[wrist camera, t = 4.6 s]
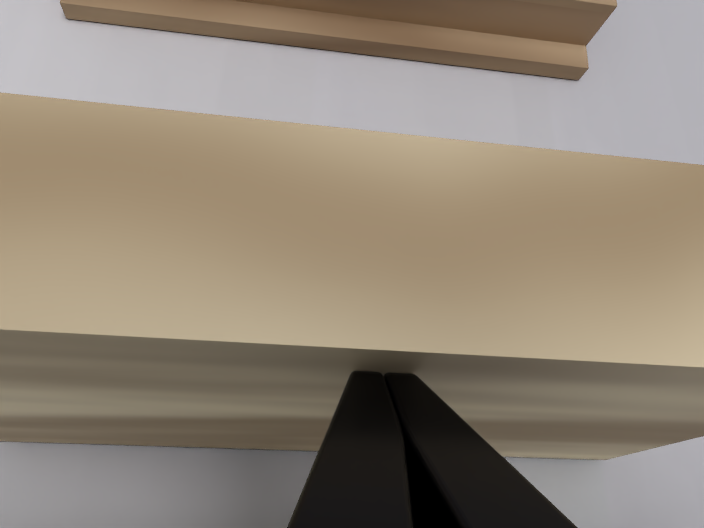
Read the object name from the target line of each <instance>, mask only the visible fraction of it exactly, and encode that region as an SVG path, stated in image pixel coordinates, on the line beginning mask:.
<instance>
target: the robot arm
mask: <svg viewBox="0 0 704 528" xmlns="http://www.w3.org/2000/svg"><path fill="white" fill-rule="evenodd" d="M287 528H577V527H576V526H575V525H574V524H573V523H572V522H571V521H570V520H569V519H568V518H567V517H566V516H565V515H564V514H563V513H562V512H560V511H559V510H558V509H557V508H556V507H555V506H554V505H553V504H552V503H551V502H550V501H549V500H548V499H547V498H546V497H545V496H544V495H542V494H541V493H540V492H539V491H538V490H537V489H536V488H535V487H534V486H533V485H532V484H531V483H530V482H529V481H528V480H527V479H526V478H525V477H523V476H522V475H521V474H520V473H519V472H518V471H517V470H516V469H515V468H514V467H513V466H512V465H511V464H510V463H509V462H508V461H507V460H506V459H504V458H503V457H502V456H501V455H500V454H499V453H498V452H497V451H496V450H495V449H494V448H493V447H492V446H491V445H490V444H489V443H488V442H487V441H485V440H484V439H483V438H482V437H481V436H480V435H479V434H478V433H477V432H476V431H475V430H474V429H473V428H472V427H471V426H470V425H469V424H468V423H466V422H465V421H464V420H463V419H462V418H461V417H460V416H459V415H458V414H457V413H456V412H455V411H454V410H453V409H452V408H451V407H450V406H448V405H447V404H446V403H445V402H444V401H443V400H442V399H441V398H440V397H439V396H438V395H437V394H436V393H435V392H434V391H433V390H432V389H431V388H429V387H428V386H427V385H426V384H425V383H424V382H423V381H422V380H421V379H420V378H419V377H418V376H416V375H415V374H412V373H392V372H388V373H386V374H384V376H383V374H381V373H380V372H372V371H353V372H352V373H351V374H350V376H349V378H348V381H347V383H346V385H345V388H344V390H343V393H342V395H341V398H340V400H339V403H338V405H337V407H336V410H335V412H334V415H333V417H332V420H331V422H330V425H329V427H328V429H327V432H326V434H325V437H324V439H323V442H322V444H321V446H320V449H319V451H318V454H317V456H316V459H315V461H314V464H313V466H312V468H311V471H310V473H309V476H308V478H307V481H306V483H305V486H304V488H303V490H302V493H301V495H300V498H299V500H298V503H297V505H296V507H295V510H294V512H293V515H292V517H291V520H290V522H289V525H288V527H287Z"/></svg>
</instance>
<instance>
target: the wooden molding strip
mask: <svg viewBox="0 0 704 528" xmlns="http://www.w3.org/2000/svg"><path fill="white" fill-rule="evenodd" d="M60 4H61V7H62V9H63V12H64V14H65V16H66V18H67V19H75V20H84V21H92V22H100V23H109V24H117V25H125V26H133V27H142V28H150V29H158V30H167V31H175V32H183V33H192V34H200V35H208V36H216V37H225V38H233V39H241V40H250V41H258V42H266V43H274V44H283V45H291V46H299V47H308V48H316V49H324V50H332V51H341V52H349V53H357V54H366V55H374V56H382V57H390V58H399V59H407V60H415V61H424V62H432V63H440V64H449V65H457V66H465V67H473V68H482V69H490V70H498V71H507V72H515V73H523V74H531V75H540V76H548V77H556V78H565V79H573V80H579V79H580V78H581V77H582V76H583V74H584V73H585V72H586V71H587V70H588V68H589V67H588V59H587V51H586V45H587V44H588V43H589V41H590V40H591V39H592V38H593V36H594V35H595V34H596V32H597V31H598V30H599V29H600V27H601V26H602V25H603V24H604V22H605V21H606V20H607V18H608V17H609V16H610V15H611V13H612V12H613V11H614V9H615V8H616V7H617V2H616V0H60Z"/></svg>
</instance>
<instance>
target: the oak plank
mask: <svg viewBox="0 0 704 528" xmlns="http://www.w3.org/2000/svg"><path fill="white" fill-rule="evenodd" d="M353 371H372V372H380V373H381V374H383V376H384V374H386V373H388V372H392V373H412V374H415V375H416V376H418V377H419V378H420V379H421V380H422V381H423V382H424V383H425V384H426V385H427V386H428V387H429V388H431V389H432V390H433V391H434V392H435V393H436V394H437V395H438V396H439V397H440V398H441V399H442V400H443V401H444V402H445V403H446V404H447V405H448V406H450V407H451V408H452V409H453V410H454V411H455V412H456V413H457V414H458V415H459V416H460V417H461V418H462V419H463V420H464V421H465V422H466V423H468V424H469V425H470V426H471V427H472V428H473V429H474V430H475V431H476V432H477V433H478V434H479V435H480V436H481V437H482V438H483V439H484V440H485V441H487V442H488V443H489V444H490V445H491V446H492V447H493V448H494V449H495V450H496V451H497V452H498V453H499V454H500V455H501V456H502V457H530V458H562V459H595V460H607V459H611V458H616V457H620V456H624V455H628V454H632V453H636V452H640V451H644V450H648V449H652V448H656V447H660V446H665V445H669V444H673V443H677V442H681V441H685V440H689V439H693V438H697V437H701V436H704V165H698V164H688V163H678V162H668V161H659V160H649V159H639V158H630V157H620V156H610V155H601V154H591V153H581V152H571V151H562V150H552V149H542V148H533V147H523V146H513V145H503V144H494V143H484V142H474V141H465V140H455V139H445V138H436V137H426V136H416V135H406V134H397V133H387V132H377V131H368V130H358V129H348V128H339V127H329V126H319V125H309V124H300V123H290V122H280V121H271V120H261V119H251V118H241V117H232V116H222V115H212V114H203V113H193V112H183V111H174V110H164V109H154V108H144V107H135V106H125V105H115V104H106V103H96V102H86V101H77V100H67V99H57V98H47V97H38V96H28V95H18V94H9V93H0V441H13V442H45V443H77V444H110V445H142V446H174V447H207V448H239V449H271V450H304V451H319V449H320V446H321V444H322V442H323V439H324V437H325V434H326V432H327V429H328V427H329V425H330V422H331V420H332V417H333V415H334V412H335V410H336V407H337V405H338V403H339V400H340V398H341V395H342V393H343V390H344V388H345V385H346V383H347V381H348V378H349V376H350V374H351V373H352V372H353Z"/></svg>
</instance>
